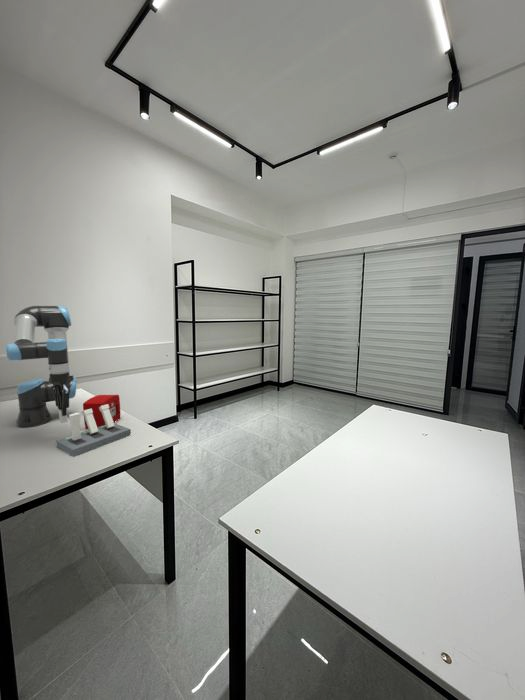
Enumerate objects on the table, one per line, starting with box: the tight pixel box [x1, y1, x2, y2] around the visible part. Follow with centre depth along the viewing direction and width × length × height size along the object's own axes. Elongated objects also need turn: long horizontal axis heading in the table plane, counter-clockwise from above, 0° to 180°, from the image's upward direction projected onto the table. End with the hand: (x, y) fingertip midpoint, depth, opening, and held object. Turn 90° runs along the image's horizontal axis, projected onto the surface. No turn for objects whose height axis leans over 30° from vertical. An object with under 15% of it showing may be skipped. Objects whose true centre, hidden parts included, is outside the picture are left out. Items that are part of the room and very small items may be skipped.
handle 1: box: [81, 408, 98, 434], centre depth 138 cm, size 2×4×12 cm
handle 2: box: [99, 404, 115, 429], centre depth 144 cm, size 2×4×12 cm
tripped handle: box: [68, 412, 82, 440], centre depth 129 cm, size 2×4×12 cm, turn 147°
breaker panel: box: [55, 422, 132, 457], centre depth 137 cm, size 16×26×3 cm, turn 147°
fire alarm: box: [82, 394, 121, 430], centre depth 157 cm, size 16×11×15 cm
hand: (63, 421), depth 135 cm, fingers closed
